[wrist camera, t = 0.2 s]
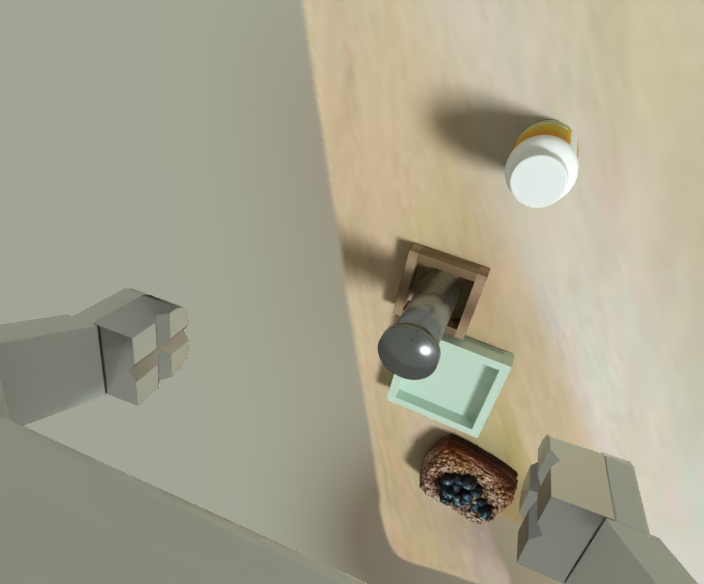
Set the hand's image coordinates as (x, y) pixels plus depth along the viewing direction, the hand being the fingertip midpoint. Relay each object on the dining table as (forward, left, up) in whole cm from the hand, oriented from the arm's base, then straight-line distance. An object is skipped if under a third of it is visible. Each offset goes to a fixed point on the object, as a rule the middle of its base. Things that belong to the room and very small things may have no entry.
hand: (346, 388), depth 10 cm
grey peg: (+20, -2, -39) cm, 44 cm away
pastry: (+46, +9, -40) cm, 62 cm away
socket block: (+20, -2, -39) cm, 44 cm away
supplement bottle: (+3, +3, -39) cm, 40 cm away
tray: (+31, +2, -39) cm, 50 cm away
